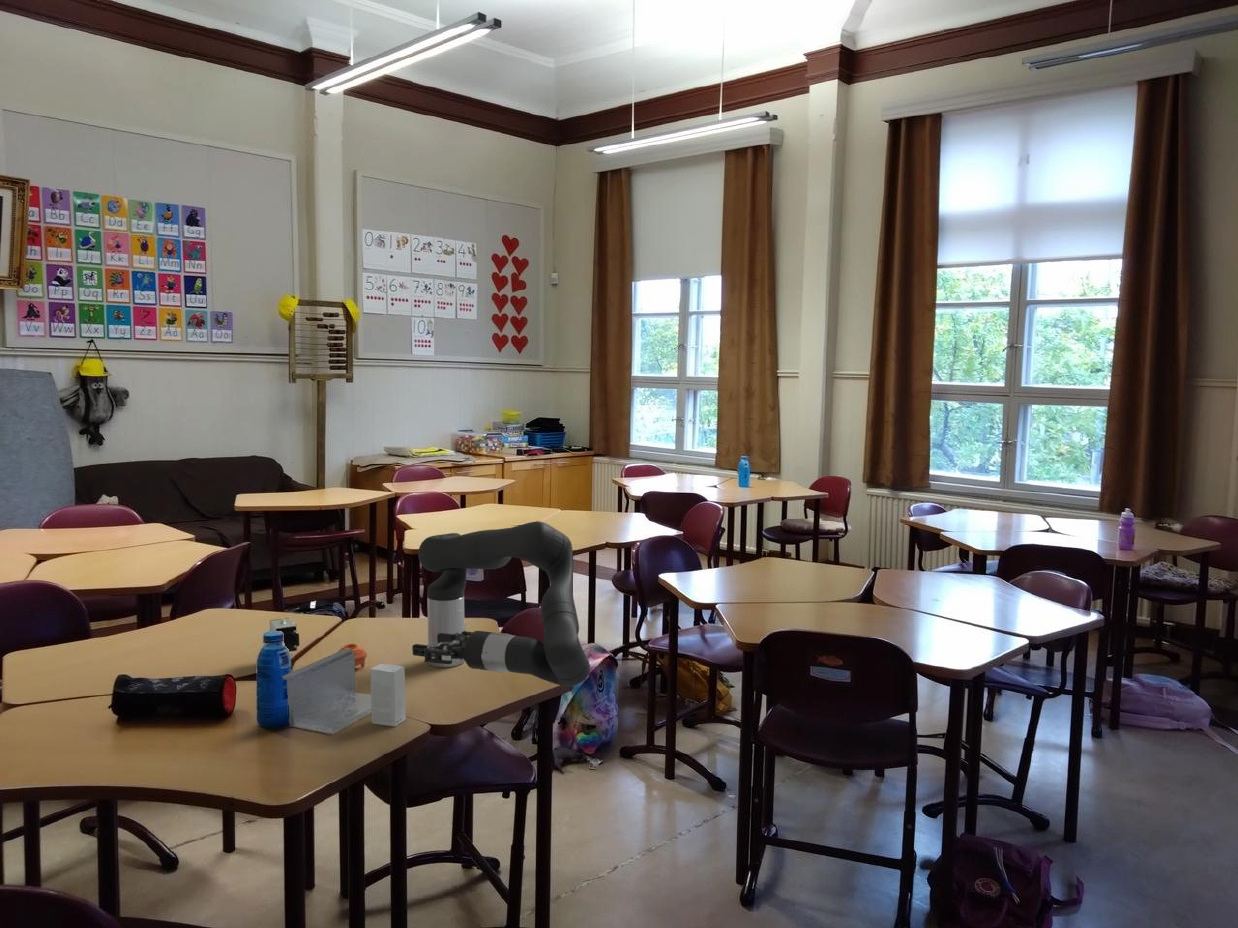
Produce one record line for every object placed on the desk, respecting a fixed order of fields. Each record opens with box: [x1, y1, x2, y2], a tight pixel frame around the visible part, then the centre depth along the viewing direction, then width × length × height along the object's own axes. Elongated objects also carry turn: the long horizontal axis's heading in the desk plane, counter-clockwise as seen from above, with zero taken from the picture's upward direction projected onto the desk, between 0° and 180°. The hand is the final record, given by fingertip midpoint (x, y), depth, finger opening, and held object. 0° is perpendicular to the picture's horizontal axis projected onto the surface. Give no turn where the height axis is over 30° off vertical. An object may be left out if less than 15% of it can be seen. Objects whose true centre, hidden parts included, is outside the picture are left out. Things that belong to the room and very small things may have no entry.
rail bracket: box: [281, 649, 371, 735], centre depth 192 cm, size 20×13×11 cm, turn 158°
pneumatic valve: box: [269, 617, 300, 657], centre depth 223 cm, size 6×12×12 cm, turn 32°
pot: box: [337, 643, 368, 669], centre depth 221 cm, size 8×8×7 cm
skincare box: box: [369, 663, 407, 728], centre depth 188 cm, size 6×4×12 cm
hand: (426, 643), depth 182 cm, fingers open, 8 cm apart
